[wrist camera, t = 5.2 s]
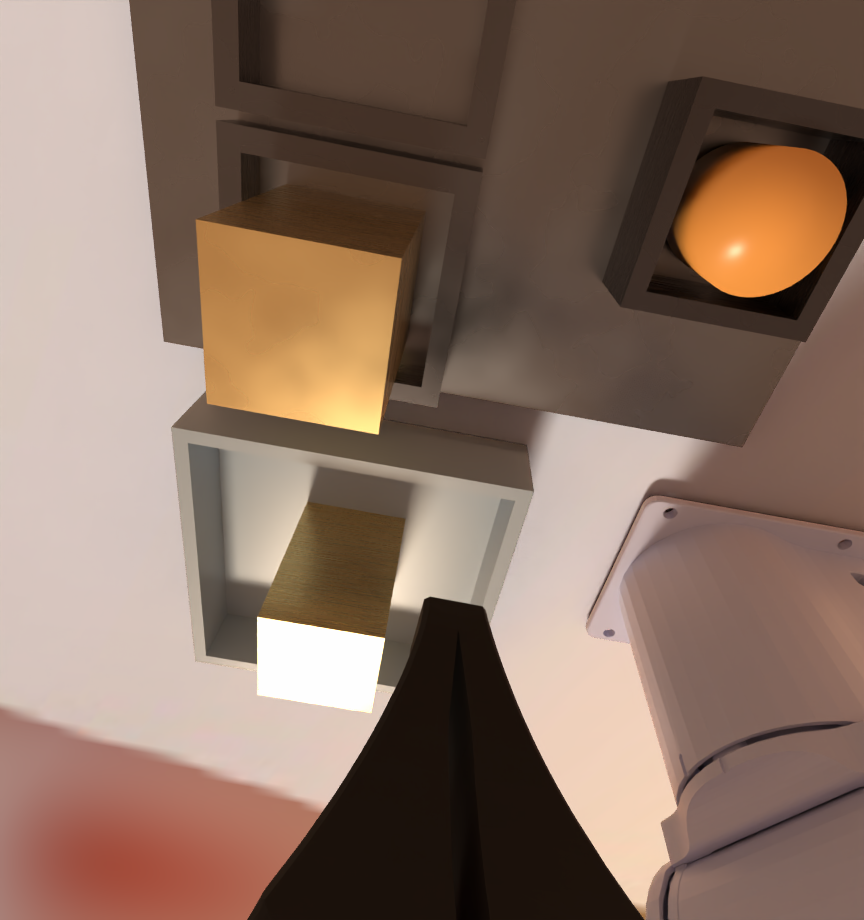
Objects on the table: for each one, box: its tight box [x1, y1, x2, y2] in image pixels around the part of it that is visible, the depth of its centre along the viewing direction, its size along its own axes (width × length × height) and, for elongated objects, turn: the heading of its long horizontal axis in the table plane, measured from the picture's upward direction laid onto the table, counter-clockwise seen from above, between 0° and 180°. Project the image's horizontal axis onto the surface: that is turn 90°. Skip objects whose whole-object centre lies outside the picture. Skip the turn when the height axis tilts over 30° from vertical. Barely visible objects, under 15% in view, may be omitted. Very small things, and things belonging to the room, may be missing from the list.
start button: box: [667, 142, 847, 297], centre depth 14 cm, size 3×3×2 cm
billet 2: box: [257, 502, 405, 713], centre depth 21 cm, size 4×4×6 cm
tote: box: [171, 392, 534, 694], centre depth 23 cm, size 12×12×3 cm
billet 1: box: [196, 184, 426, 434], centre depth 14 cm, size 4×4×6 cm
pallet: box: [129, 0, 864, 447], centre depth 14 cm, size 20×14×4 cm
